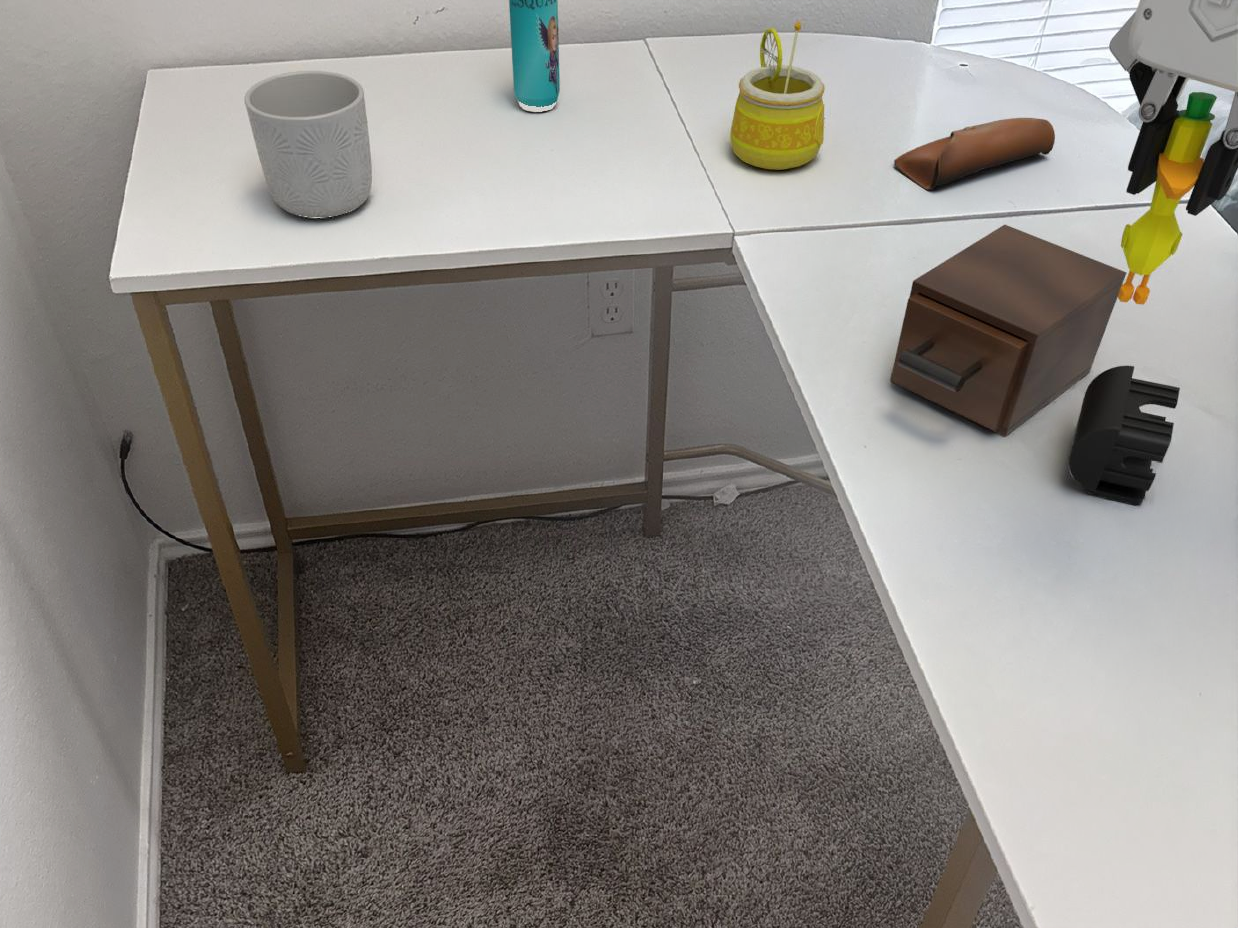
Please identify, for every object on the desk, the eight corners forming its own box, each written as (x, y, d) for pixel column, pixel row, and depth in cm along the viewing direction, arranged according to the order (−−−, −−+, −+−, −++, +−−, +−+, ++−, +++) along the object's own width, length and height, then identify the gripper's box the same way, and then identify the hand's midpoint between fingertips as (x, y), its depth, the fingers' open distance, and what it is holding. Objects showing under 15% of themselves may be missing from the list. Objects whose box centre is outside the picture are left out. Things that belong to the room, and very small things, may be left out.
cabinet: (1005, 437, 102) (1038, 335, 94) (890, 381, 107) (912, 280, 100) (1089, 372, 108) (1127, 272, 101) (977, 323, 114) (1004, 223, 106)
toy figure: (1156, 326, 75) (1233, 126, 66) (1100, 318, 76) (1168, 119, 66) (1161, 277, 79) (1234, 81, 70) (1107, 269, 80) (1172, 75, 70)
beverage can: (547, 118, 142) (542, -28, 130) (506, 110, 143) (498, -35, 131) (567, 101, 145) (564, -43, 133) (527, 93, 146) (521, -50, 134)
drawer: (967, 451, 99) (992, 367, 93) (862, 398, 104) (879, 316, 98) (1074, 371, 107) (1104, 289, 101) (971, 325, 112) (993, 244, 105)
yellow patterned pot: (809, 182, 132) (826, 63, 122) (718, 168, 134) (727, 50, 124) (832, 137, 139) (850, 21, 129) (745, 124, 141) (756, 10, 131)
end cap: (1071, 427, 103) (1097, 357, 98) (1152, 445, 101) (1184, 374, 96) (1055, 491, 97) (1082, 420, 92) (1140, 510, 96) (1173, 439, 90)
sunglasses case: (1002, 127, 139) (1036, 84, 133) (1028, 178, 139) (1064, 137, 133) (887, 161, 134) (917, 118, 127) (914, 214, 134) (946, 173, 127)
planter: (292, 172, 133) (270, 65, 124) (393, 183, 131) (379, 75, 122) (251, 222, 125) (225, 112, 117) (358, 234, 124) (340, 123, 115)
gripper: (1127, -198, 59) (1025, 177, 74) (1454, -136, 53) (1270, 263, 67) (1194, -225, 63) (1083, 139, 77) (1510, -170, 56) (1323, 218, 71)
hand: (1171, 193), depth 72 cm, fingers closed on toy figure, 3 cm apart
